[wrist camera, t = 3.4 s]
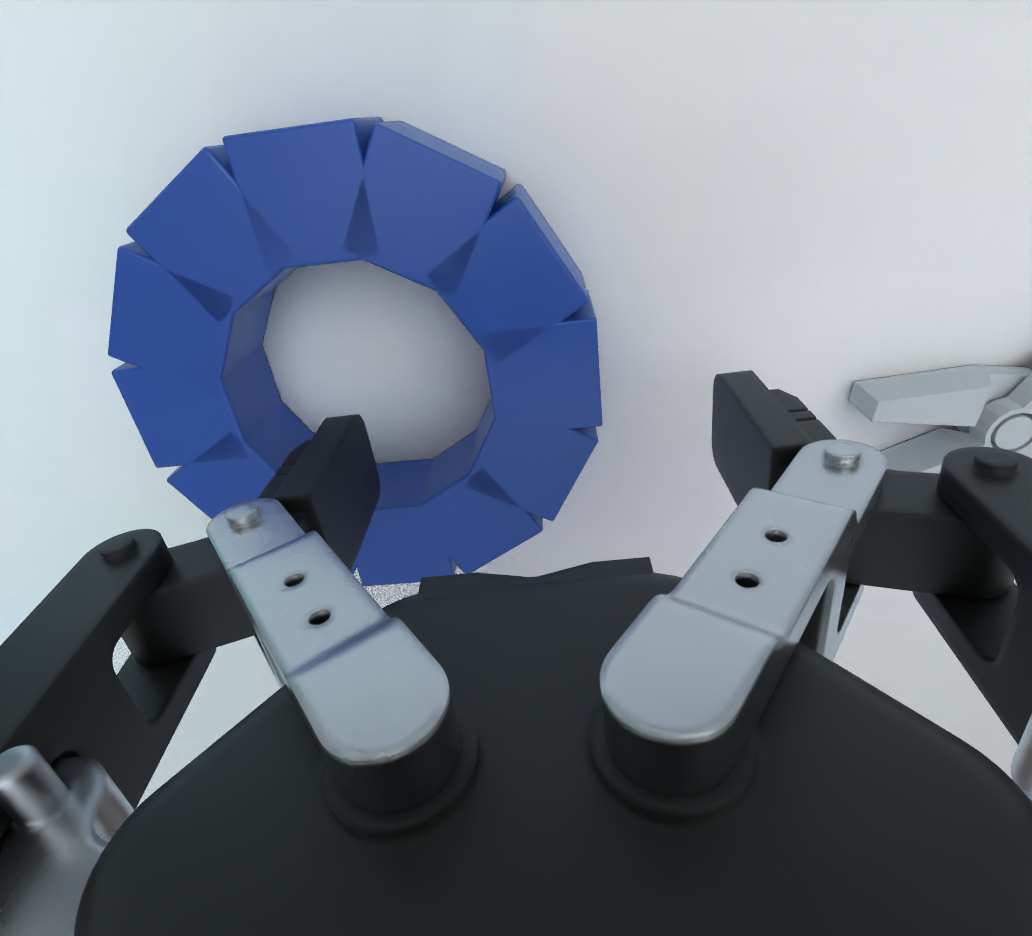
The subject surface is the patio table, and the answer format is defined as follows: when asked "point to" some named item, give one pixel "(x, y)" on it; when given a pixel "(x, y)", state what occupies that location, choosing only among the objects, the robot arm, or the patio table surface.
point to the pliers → (951, 411)
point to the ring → (392, 246)
